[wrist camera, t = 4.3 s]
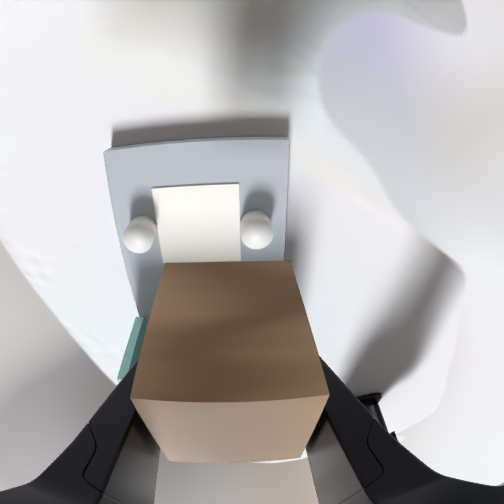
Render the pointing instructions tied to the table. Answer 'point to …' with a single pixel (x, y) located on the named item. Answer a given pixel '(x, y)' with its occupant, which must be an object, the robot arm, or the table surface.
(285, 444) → the block
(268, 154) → the grey flat rectangular block
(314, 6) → the table surface
